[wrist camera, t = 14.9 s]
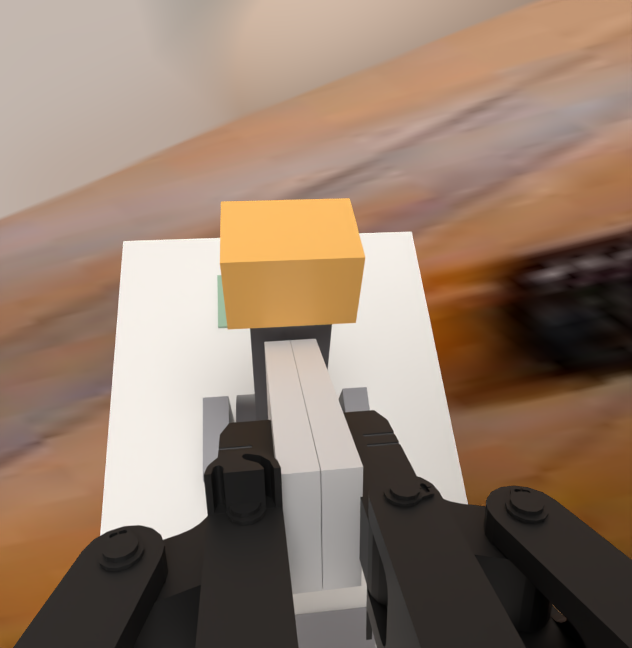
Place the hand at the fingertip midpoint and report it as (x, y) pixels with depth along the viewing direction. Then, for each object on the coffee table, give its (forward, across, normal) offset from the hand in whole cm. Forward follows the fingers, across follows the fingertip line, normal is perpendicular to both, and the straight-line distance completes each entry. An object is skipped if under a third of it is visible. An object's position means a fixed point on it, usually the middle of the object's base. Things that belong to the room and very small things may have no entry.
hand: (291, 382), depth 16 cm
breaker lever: (+6, 0, +7) cm, 9 cm away
